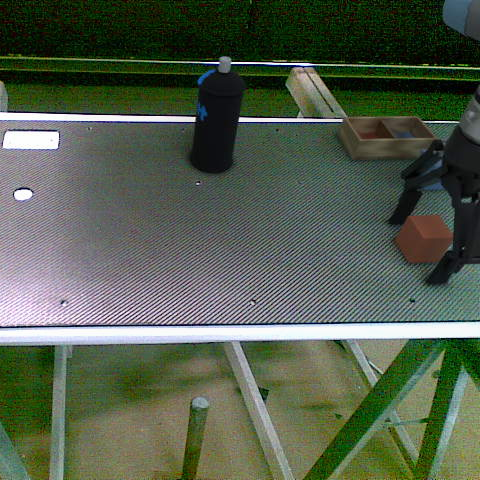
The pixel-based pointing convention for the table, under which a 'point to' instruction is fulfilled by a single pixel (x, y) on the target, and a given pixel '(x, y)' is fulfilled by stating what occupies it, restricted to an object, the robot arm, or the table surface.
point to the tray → (385, 137)
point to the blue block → (437, 165)
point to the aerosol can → (217, 118)
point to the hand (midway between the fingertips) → (415, 250)
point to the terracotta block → (424, 238)
